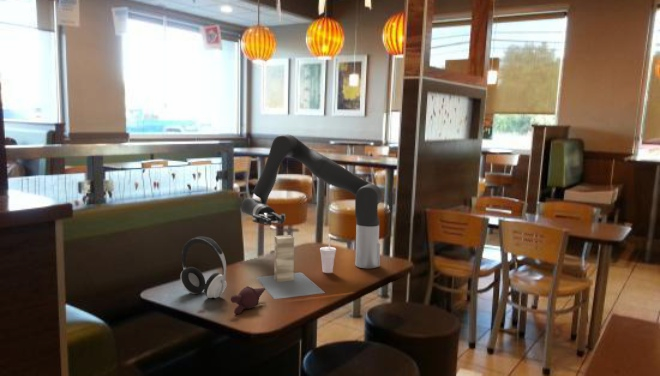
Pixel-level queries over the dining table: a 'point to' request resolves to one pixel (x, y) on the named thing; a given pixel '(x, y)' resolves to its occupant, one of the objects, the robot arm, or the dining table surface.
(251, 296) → the maroon rounded piece
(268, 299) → the dining table surface
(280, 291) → the mat
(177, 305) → the dining table surface
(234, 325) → the dining table surface
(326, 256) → the smoothie
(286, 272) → the birch block
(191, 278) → the headphones
